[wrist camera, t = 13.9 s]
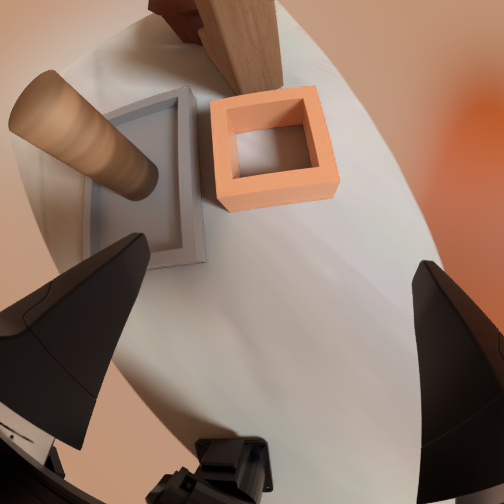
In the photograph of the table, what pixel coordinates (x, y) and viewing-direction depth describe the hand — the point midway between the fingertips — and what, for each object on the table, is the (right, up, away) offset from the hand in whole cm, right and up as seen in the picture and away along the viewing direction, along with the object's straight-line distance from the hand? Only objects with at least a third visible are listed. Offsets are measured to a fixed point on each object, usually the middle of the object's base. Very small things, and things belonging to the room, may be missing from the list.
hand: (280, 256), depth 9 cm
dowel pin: (-11, +7, +15) cm, 20 cm away
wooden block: (-2, +19, +16) cm, 25 cm away
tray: (-11, +6, +16) cm, 20 cm away
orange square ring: (+1, +8, +15) cm, 17 cm away
